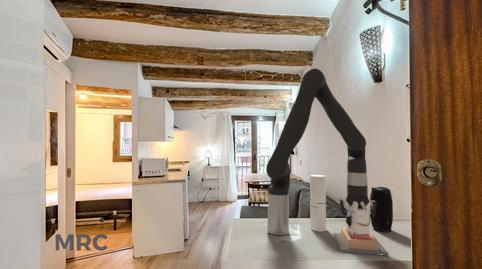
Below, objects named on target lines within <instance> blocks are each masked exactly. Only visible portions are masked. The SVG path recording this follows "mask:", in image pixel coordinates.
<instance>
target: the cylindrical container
mask: <svg viewBox="0 0 482 269" xmlns="http://www.w3.org/2000/svg"><path fill="white" fill-rule="evenodd" d="M326 178H327V176H326V175H323V174H311V175H309V195H310V197H309V201H310V202H309V204H310V206H309V208H310V209H309V210H310V215H309V216H310V220H309V221H310V223H309V224H310V227H309V228H310V230H311V231H314V232H325V231H326V232H327V190H326V189H327V188H326V187H327V186H326V184H327V183H326V182H327V179H326Z"/></svg>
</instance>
